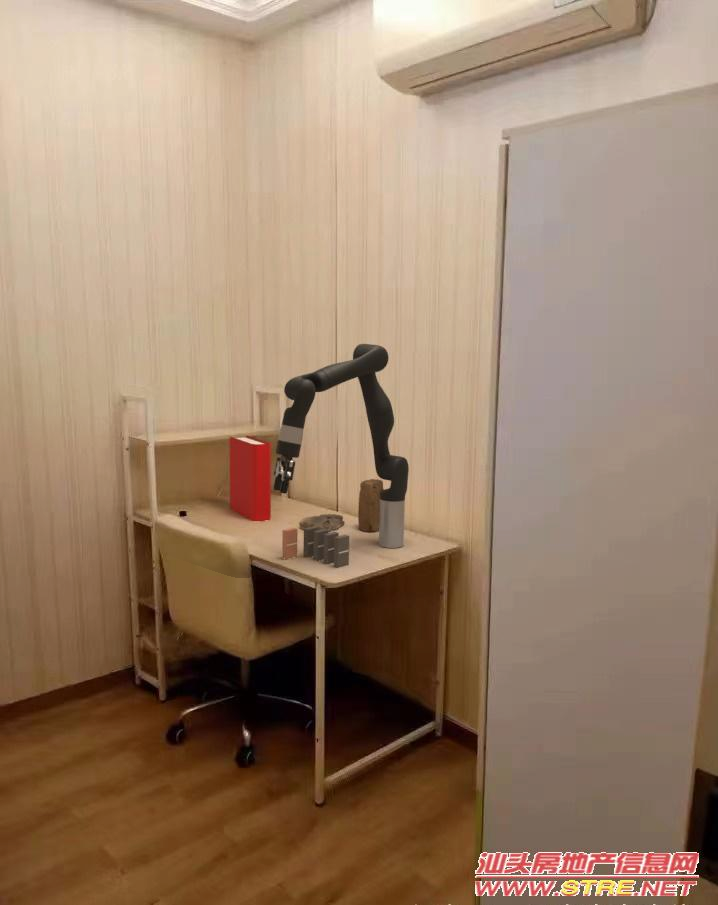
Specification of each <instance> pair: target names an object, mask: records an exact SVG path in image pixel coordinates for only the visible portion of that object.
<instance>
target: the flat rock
mask: <svg viewBox="0 0 718 905" xmlns="http://www.w3.org/2000/svg"><path fill="white" fill-rule="evenodd" d="M343 519H344V516H343V515H340V514H334V513H333V514H332V513H328V514H327V513H325V514H320V515H314V516H306V517H303V518H302V519H300V521H299V522H298V525H299V528H300V529H301V530H303V531H304V528H309V527H313V526H316V527H318V530H322V529H327V530H328V533H331V532H333V531H337V530H340V529H341V528H342V527H343V526H344V525H345V521H344V520H343ZM339 528H340V529H339ZM336 529H337V530H336ZM332 530H333V531H332ZM330 531H331V532H330Z"/></svg>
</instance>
